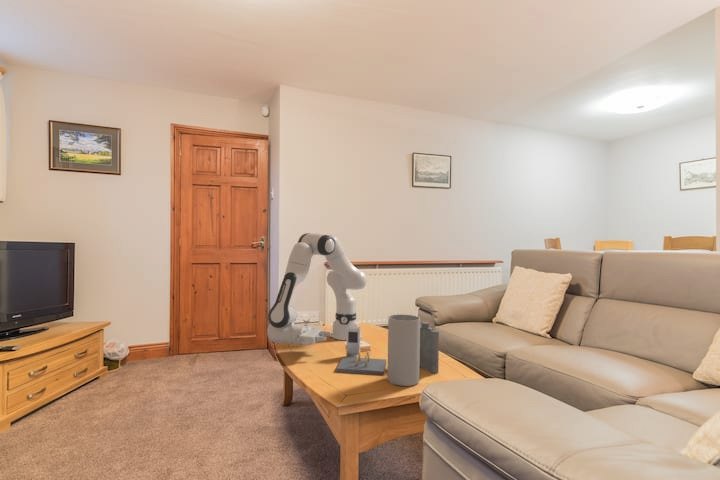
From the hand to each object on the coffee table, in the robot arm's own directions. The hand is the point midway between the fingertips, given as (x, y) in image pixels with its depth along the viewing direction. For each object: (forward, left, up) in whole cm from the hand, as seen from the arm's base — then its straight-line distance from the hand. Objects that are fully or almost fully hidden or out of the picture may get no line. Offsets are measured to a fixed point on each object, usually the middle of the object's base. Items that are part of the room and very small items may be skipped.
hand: (328, 336), depth 173 cm
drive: (0, +12, -9) cm, 15 cm away
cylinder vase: (+26, +36, -10) cm, 45 cm away
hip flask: (+9, +45, -10) cm, 47 cm away
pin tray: (+13, +18, -9) cm, 24 cm away
